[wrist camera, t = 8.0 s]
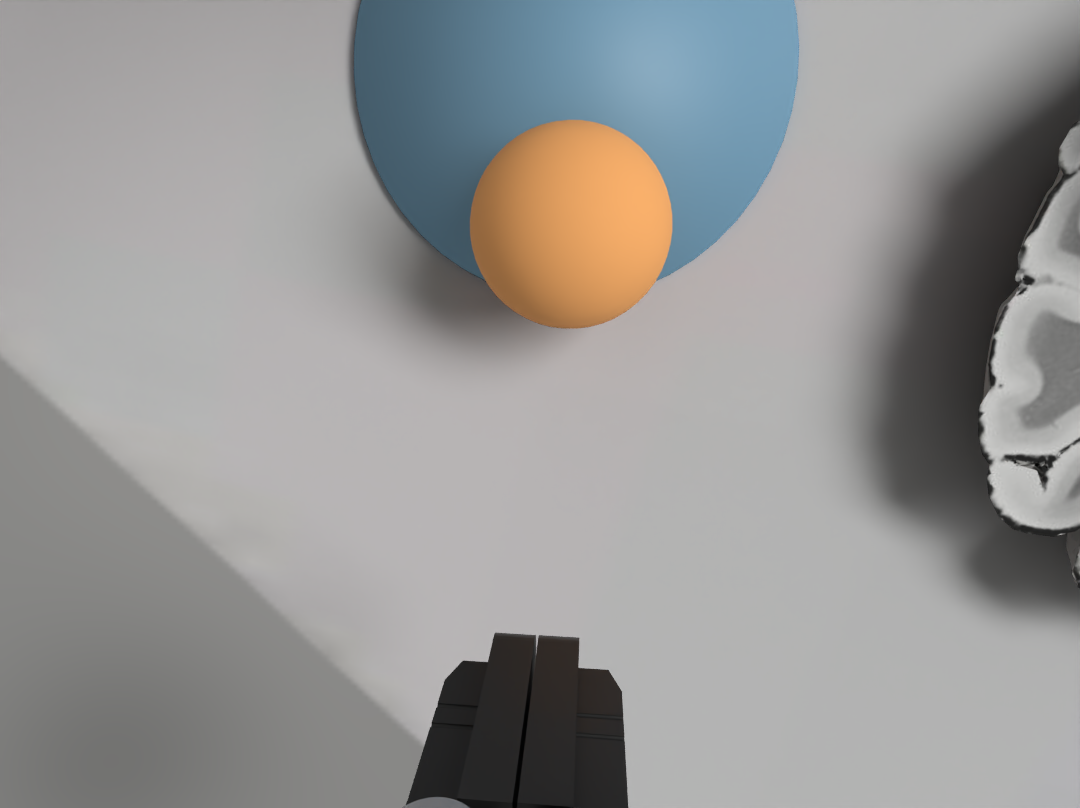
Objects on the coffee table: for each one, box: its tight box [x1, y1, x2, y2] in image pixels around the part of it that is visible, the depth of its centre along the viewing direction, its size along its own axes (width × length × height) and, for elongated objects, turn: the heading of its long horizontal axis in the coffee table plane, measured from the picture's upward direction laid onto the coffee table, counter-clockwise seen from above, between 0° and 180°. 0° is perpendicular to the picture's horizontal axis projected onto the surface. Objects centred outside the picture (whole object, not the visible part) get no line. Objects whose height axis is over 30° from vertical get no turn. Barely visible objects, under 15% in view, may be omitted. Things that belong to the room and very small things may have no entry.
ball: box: [470, 120, 672, 328], centre depth 19 cm, size 6×6×6 cm
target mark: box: [354, 0, 799, 280], centre depth 20 cm, size 13×13×1 cm
